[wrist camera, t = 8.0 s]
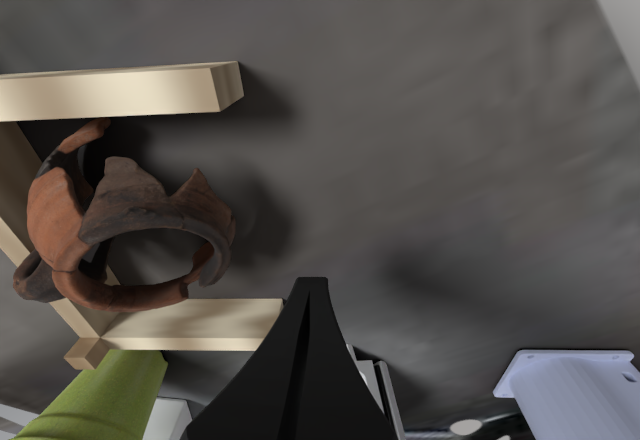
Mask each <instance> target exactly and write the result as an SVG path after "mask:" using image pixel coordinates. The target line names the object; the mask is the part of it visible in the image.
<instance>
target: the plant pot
mask: <svg viewBox="0 0 640 440" xmlns="http://www.w3.org/2000/svg"><path fill="white" fill-rule="evenodd" d="M167 366H168V362H167V361H165V360H164V358H163V356H162V353H161V352H160V351H159V350H113V349H110V350H109V351H108V353H107V354H106V356H105V357H104V358H103V360H102V361H101V363H100V364H99V365H98V367H97V368H96V369H95V370H91V369H84V370H83V371H82V372H81V373H80V374H79V375H78V376H77V377H76V378H75V379H74V380H73V381H72V382H71V383H70V384H69V385H68V386H67V388H66V389H65V390H64V391H63V392H62V393H61V394H60V395H59V396H58V397H57V398H56V399H55V400H54V401H53V402H52V403H51V404H50V405H49V406H48V407H47V408H46V409H45V410H44V411H43V412H42V413H41V414H40V415H39V417H37V418H36V419H34V420H32V421H31V422H29V423H28V424H27V425H26V426H25V427H24V428H23V429H22V430H21V431H20V432H19V433H18V434H17V435H16V436H15V437H14V438H12V439H9V440H142V439H143V436H144V433H145V430H146V427H147V424H148V421H149V418H150V415H151V412H152V409H153V406H154V403H155V400H156V398H157V395H158V392H159V389H160V386H161V383H162V381H163V378H164V375H165V372H166V369H167Z"/></svg>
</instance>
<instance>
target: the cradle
mask: <svg viewBox="0 0 640 440" xmlns="http://www.w3.org/2000/svg"><path fill="white" fill-rule="evenodd" d="M243 96H244V92H243V87H242V81H241V76H240V71H239V65H238V61H234V62H216V63H198V64H180V65H162V66H144V67H126V68H108V69H91V70H73V71H55V72H37V73H19V74H1V75H0V248H1V249H2V250H3V251H4V253H5V254H6V255H7V256H8V257H9V258H10V259H11V260H12V262H13V263H14V264H15V265H16V266H17V267H19V265H20V264H21V263H22V262H23V260H24V259H25V258H26V257H27V256H28V255H29V254H30V253H31V252H32V251H34V250H35V246H34V244H33V242H32V241H31V239H30V237H29V233H28V229H27V205H28V194H29V190H30V187H31V185H32V183H33V181H34V180H35V177H36V174H37V173H38V171H39V169H40V168H41V166H42V164H43V163H42V162H41V160H40V159H39V157H38V155H37V154H36V152H35V151H34V149H33V148H32V146H31V145H30V143H29V141H28V140H27V138H26V137H25V135H24V134H23V132H22V131H21V129H20V127H19V126H18V124H17V123H16V121H22V120H44V119H67V118H89V117H111V116H133V115H155V114H178V113H200V112H220V111H222V110H223V109H225V108H226V107H228V106H230V105H231V104H233V103H234V102H236V101H237V100H239V99H240V98H242V97H243ZM106 272H107V277H108V278H107V280H106V281H105V283H104V284H108V285H110V286H113V285H120V283H119V281H118V280H117V278H116V277H115V275H114V274H113V272H112V271H111V269H110V267H109V266H108V264H107V268H106ZM49 303H50V304H51V305H52V306H53V307H54V309H55V310H56V311H57V312H58V313H59V314H60V315H61V316H62V318H63V319H64V320H65V321H66V322H67V323H68V324H69V325H70V326H71V328H72V329H73V330H74V331H75V332H76V333H77V334H78V335H79V337H80V339H79V340H78V341H77V342H76V343H75V344H74V346H73V347H72V348H71V349H70V350H69V352H68V353H67V354H66V355H65V356H64V359H65V360H66V361H67V362H68V363H69V364H71V365H72V366H73V367H74V368H75V369H91V370H95V369H96V368H97V367H98V365H99V364H100V363H101V361H102V360H103V358H104V357H105V356H106V354H107V353H108V351H109V350H110V349H113V350H236V351H256V350H257V348H258V347H259V345H260V344H261V343H262V341H263V340H264V338H265V337H266V335H267V334H268V332H269V331H270V329H271V327H272V326H273V324H274V323H275V321H276V319H277V318H278V316H279V314H280V312H281V311H282V309H283V307H284V306H283V301H282V299H186V300H184V301H182V302H180V303H177V304H174V305H170V306H166V307H162V308H158V309H151V310H147V311H138V312H108V311H99V310H95V309H91V308H87V307H85V306H82V305H79V304H77V303H75V302H73V301H72V300H70V299H68V298H64V299H61V300H57V301H53V302H49Z"/></svg>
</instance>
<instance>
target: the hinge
mask: <svg viewBox="0 0 640 440" xmlns="http://www.w3.org/2000/svg"><path fill="white" fill-rule="evenodd" d="M347 348H348V350H349V352H350V354H351V356H352V358H353V360H354V362H355V364H356V366H357V368H358V370H359V372H360V374H361V376H362V378H363V379H364V381H365V383H366V385H367V387H368V388H369V390H370V392H371V394H372V395H373V397H374V399H375V400H376V402H377V404H378V405H379V407H380V408H381V410H382V412H383V413H384V415H385V416H386V418H387V419H388V421H389V422H390V424H391V425H392V427H393V428H394V430H395V432H396V434H397V437H398V439H399V440H406V438H405V434H404V430H403V426H402V422H401V418H400V415H399V411H398V407H397V403H396V399H395V395H394V391H393V388H392V384H391V380H390V376H389V372H388V368H387V364H386V363H385V362H384V361H379V362H377V363H375V364H373V363H372V360H366V361H357V360H356V357H355V354H354V350H353V347H352V345H350V344H347Z"/></svg>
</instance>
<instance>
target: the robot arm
mask: <svg viewBox="0 0 640 440" xmlns="http://www.w3.org/2000/svg"><path fill="white" fill-rule="evenodd" d="M633 358H634V355H633V353H632V352H630V351H627V350H520V351H518V352H517V353H516V355H515V357H514V358H513V360H512V361H511V363H510V365H509V366H508V368H507V370H506V371H505V373H504V374H503V376H502V378H501V379H500V381H499V383H498V384H497V386H496V388H495V389H494V391H493V393H494V396H495V397H510V398H515V399H516V401H517V403H518V405H519V407H520V409H521V411H522V413H523V415H524V417H525V419H526V421H527V423H528V425H529V427H530V429H531V431H532V433H533V434H534V436H535V438H536V440H640V372H639V371H638V370H637V369H636V368H635V367H634V366H633V365H632V364H631V363H630V361H631V360H632V359H633ZM179 440H399V439H398V437H397V434H396V432H395V430H394V428H393V427H392V425H391V424H390V422H389V421H388V419H387V418H386V416H385V415H384V413H383V412H382V410H381V408H380V407H379V405H378V404H377V402H376V400H375V399H374V397H373V395H372V394H371V392H370V390H369V388H368V387H367V385H366V383H365V381H364V379H363V378H362V376H361V374H360V372H359V370H358V368H357V366H356V364H355V362H354V360H353V358H352V356H351V354H350V352H349V350H348V348H347V345H346V343H345V341H344V338H343V336H342V333H341V331H340V328H339V326H338V323H337V320H336V317H335V314H334V311H333V307H332V304H331V300H330V295H329V290H328V279H327V278H326V277H298V278H297V279H296V281H295V284H294V286H293V289H292V291H291V293H290V295H289V297H288V299H287V301H286V303H285V305H284V307H283V309H282V311H281V312H280V314H279V316H278V318H277V319H276V321H275V323H274V324H273V326H272V327H271V329H270V331H269V332H268V334H267V335H266V337H265V338H264V340H263V341H262V343H261V344H260V345H259V347H258V348H257V350H256V351H255V352H254V354H253V355H252V356H251V357H250V359H249V360H248V361H247V362H246V364H245V365H244V366H243V367H242V369H241V370H240V371H239V372H238V373H237V375H236V376H235V377H234V378H233V379H232V380H231V381H230V382H229V384H228V385H227V386H226V387H225V388H224V389H223V390H222V391H221V392H220V393H219V394H218V396H217V397H216V398H215V399H214V400H213V401H212V402H211V403H210V404H209V405H208V406H207V407H206V408H205V409H204V410H202V411H201V412H200V413H199V414H198V415H197V416H196V417H195V418H194V419H193V420H192V421H191V422H190V423H189V424H188V425H187V426H186V428H185V430H184V432H183V434H182V435H181V437H180V439H179Z"/></svg>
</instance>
